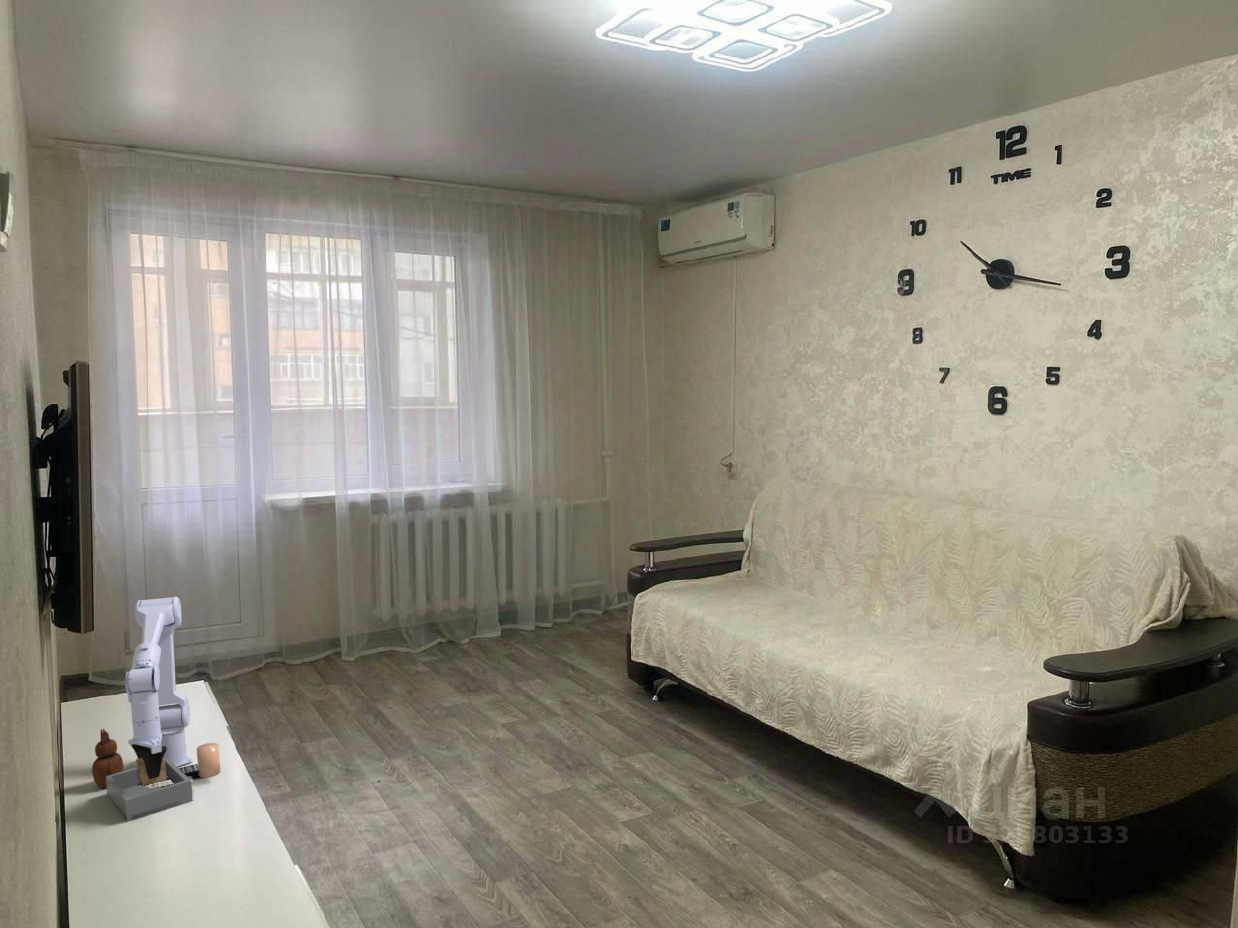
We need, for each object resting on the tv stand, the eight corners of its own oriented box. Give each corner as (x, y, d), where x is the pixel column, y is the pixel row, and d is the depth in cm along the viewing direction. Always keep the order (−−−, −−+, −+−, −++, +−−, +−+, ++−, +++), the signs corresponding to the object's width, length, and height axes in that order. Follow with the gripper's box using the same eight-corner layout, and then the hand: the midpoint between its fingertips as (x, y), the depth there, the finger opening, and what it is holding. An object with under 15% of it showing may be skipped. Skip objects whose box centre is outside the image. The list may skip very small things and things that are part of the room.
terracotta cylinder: (196, 773, 226) (193, 747, 225) (216, 767, 229) (214, 741, 229) (202, 779, 222) (200, 752, 222) (223, 773, 226) (221, 746, 225)
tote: (107, 796, 215) (105, 776, 214) (169, 777, 224) (168, 758, 224) (127, 821, 202) (125, 800, 201) (192, 800, 211) (190, 780, 211)
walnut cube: (137, 779, 210) (135, 759, 210) (160, 773, 214) (158, 752, 213) (143, 786, 207) (141, 765, 206) (166, 779, 210) (164, 759, 210)
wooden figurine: (109, 791, 218) (103, 732, 216) (88, 789, 219) (83, 730, 217) (129, 779, 224) (124, 721, 223) (109, 777, 225) (104, 720, 224)
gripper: (118, 714, 211) (123, 769, 213) (135, 731, 201) (140, 789, 202) (151, 706, 216) (155, 760, 217) (169, 722, 206) (173, 778, 207)
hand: (150, 773), depth 210 cm, fingers closed on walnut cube, 5 cm apart
